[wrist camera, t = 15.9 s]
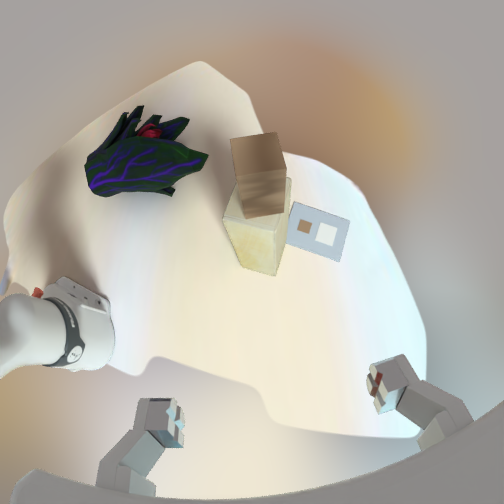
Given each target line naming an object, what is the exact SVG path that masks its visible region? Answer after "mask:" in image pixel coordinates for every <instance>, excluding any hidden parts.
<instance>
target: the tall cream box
mask: <svg viewBox="0 0 504 504" xmlns="http://www.w3.org/2000/svg"><path fill="white" fill-rule="evenodd" d="M291 182H292V180H291V178H289V177H286V189H285V205H284V213H280V214H274V215H268V216H262V217H256V218H250V219H245V214H244V210H243V206H242V201H241V197H240V193H239V189H238V184H237V182H236V185H235V187H234V190H233V192H232V195H231V197H230V200H229V202H228V205H227V208H226V210H225V213H224V215H223V219H222V220H223V223H224V226H225V228H226V230H227V233H228V235H229V237H230V240H231V242H232V244H233V247H234V249H235V251H236V254H237V256H238V259H239V261H240V264H241V266H242V267H243V268H246V269H249V270H253V271H256V272H260V273H263V274H267V275H271V276H276V274H277V270H278V267H279V264H280V260H281V257H282V254H283V250H284V247H285V243H286V239H287V230H288V218H289V206H290V194H291Z"/></svg>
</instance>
